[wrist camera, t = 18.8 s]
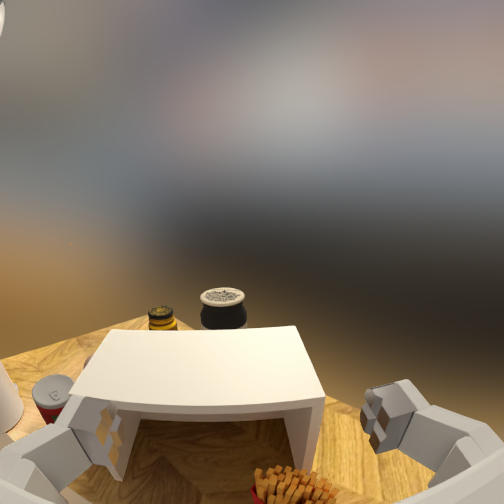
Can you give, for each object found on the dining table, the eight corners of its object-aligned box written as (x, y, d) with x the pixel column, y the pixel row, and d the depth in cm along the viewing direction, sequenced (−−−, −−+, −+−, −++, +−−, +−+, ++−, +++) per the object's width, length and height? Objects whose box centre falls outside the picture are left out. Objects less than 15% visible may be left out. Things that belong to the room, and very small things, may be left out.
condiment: (174, 370, 56) (165, 319, 54) (141, 361, 59) (131, 313, 56) (189, 352, 63) (183, 305, 60) (157, 346, 65) (150, 300, 63)
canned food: (76, 462, 29) (46, 413, 26) (50, 437, 32) (23, 388, 30) (107, 437, 36) (85, 387, 33) (79, 417, 39) (58, 368, 36)
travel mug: (241, 395, 49) (236, 307, 45) (201, 386, 51) (190, 301, 47) (253, 370, 57) (251, 289, 52) (217, 364, 59) (210, 285, 55)
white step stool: (114, 480, 28) (68, 393, 24) (135, 413, 43) (111, 329, 38) (307, 482, 30) (325, 396, 25) (289, 412, 44) (295, 325, 40)
